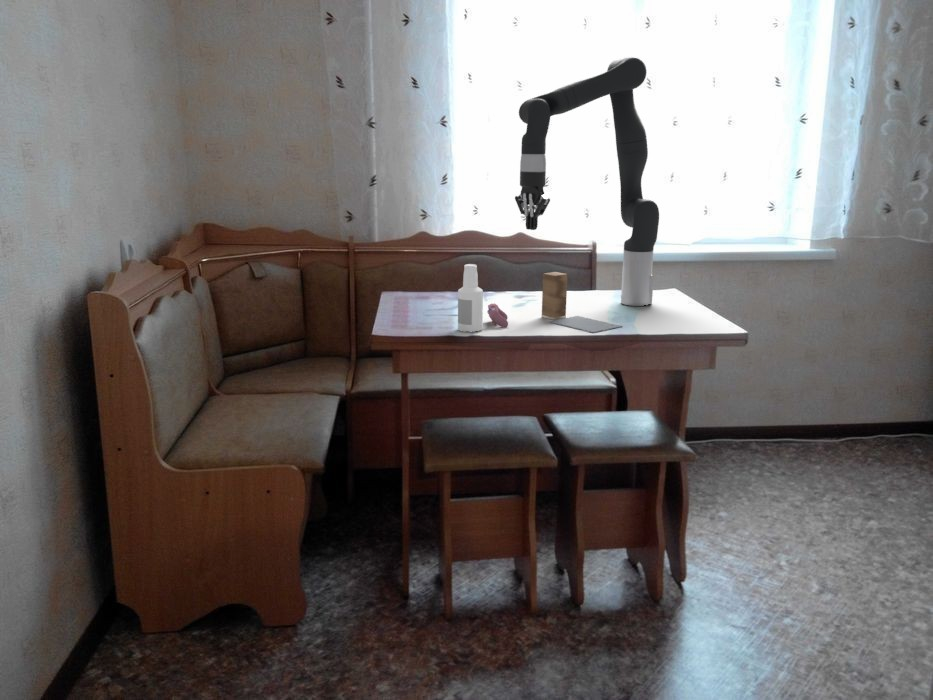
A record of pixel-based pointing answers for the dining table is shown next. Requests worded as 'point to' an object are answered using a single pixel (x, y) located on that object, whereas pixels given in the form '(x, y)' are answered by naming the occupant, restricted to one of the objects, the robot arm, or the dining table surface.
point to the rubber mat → (585, 324)
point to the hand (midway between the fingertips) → (531, 229)
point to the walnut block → (554, 295)
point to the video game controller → (497, 315)
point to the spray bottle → (470, 301)
